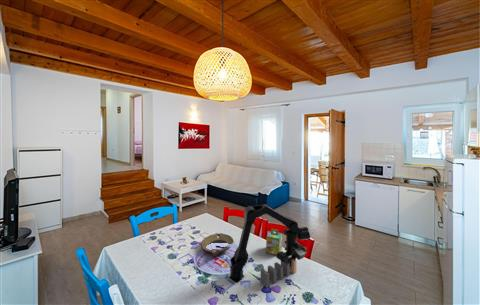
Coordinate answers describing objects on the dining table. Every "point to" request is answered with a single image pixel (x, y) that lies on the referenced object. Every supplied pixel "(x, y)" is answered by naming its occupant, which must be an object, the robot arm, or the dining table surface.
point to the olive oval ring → (214, 239)
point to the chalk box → (273, 242)
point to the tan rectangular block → (293, 266)
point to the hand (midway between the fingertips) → (291, 266)
